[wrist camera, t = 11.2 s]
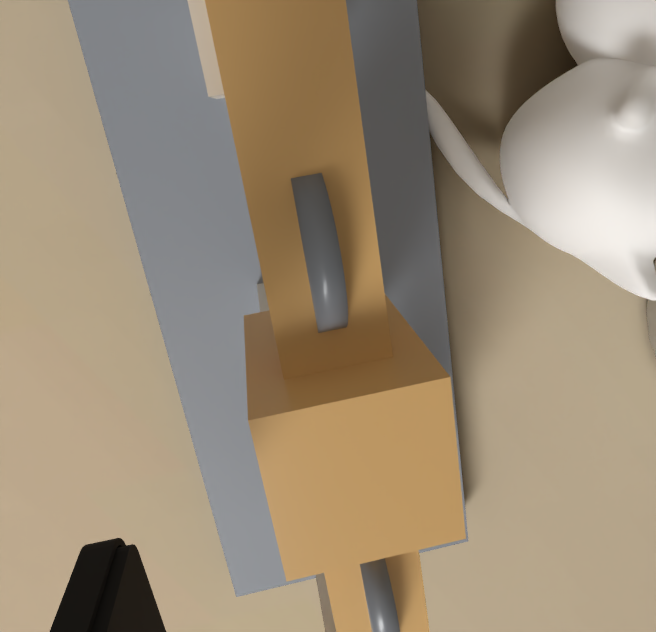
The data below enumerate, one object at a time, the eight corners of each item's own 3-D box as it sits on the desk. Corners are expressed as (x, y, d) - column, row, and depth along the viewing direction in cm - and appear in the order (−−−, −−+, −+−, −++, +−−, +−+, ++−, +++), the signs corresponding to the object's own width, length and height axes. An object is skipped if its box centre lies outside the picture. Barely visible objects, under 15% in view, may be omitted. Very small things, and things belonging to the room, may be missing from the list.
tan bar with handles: (338, -23, 14) (404, -104, 9) (422, 600, 21) (488, 775, 16) (172, 2, 14) (132, -64, 8) (313, 627, 21) (342, 816, 16)
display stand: (395, -71, 19) (503, -187, 11) (456, 518, 27) (541, 678, 19) (72, -22, 18) (-45, -111, 10) (236, 570, 26) (236, 758, 18)
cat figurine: (713, 338, 14) (1092, -243, 11) (335, 167, 17) (533, -331, 14) (664, 297, 22) (870, -43, 19) (411, 185, 25) (549, -126, 22)
